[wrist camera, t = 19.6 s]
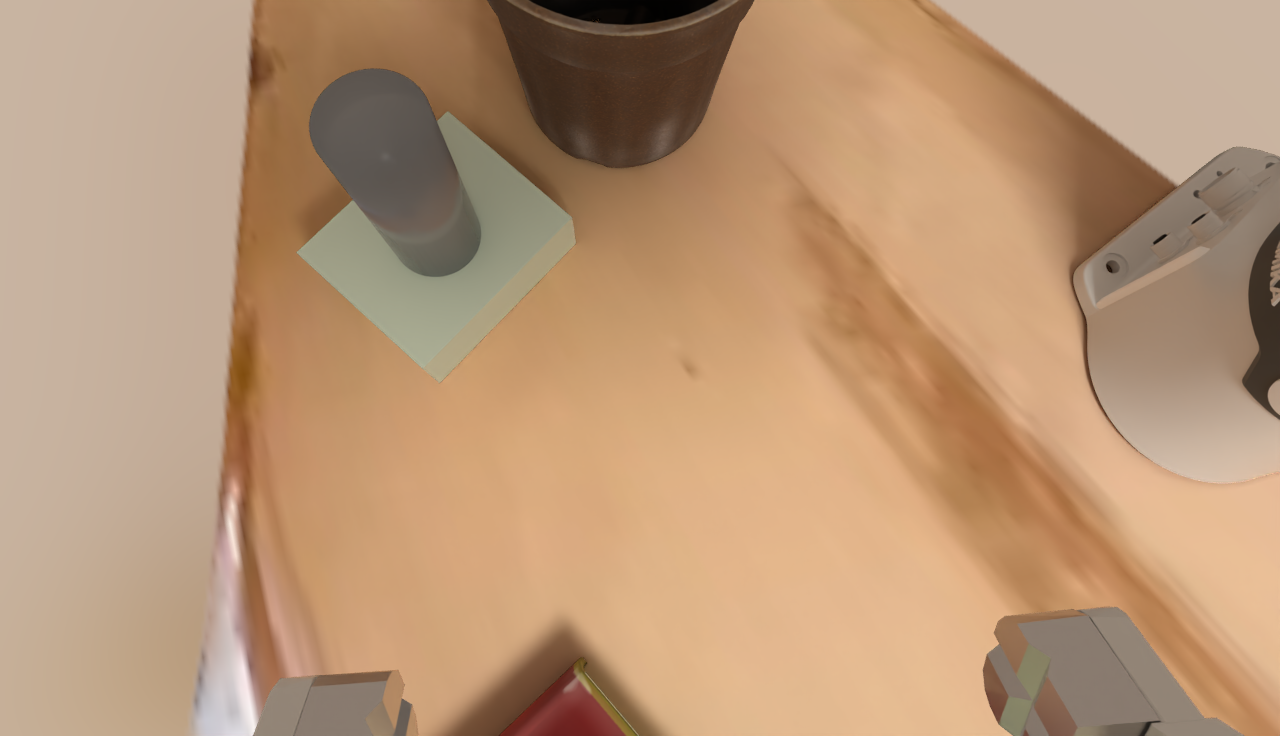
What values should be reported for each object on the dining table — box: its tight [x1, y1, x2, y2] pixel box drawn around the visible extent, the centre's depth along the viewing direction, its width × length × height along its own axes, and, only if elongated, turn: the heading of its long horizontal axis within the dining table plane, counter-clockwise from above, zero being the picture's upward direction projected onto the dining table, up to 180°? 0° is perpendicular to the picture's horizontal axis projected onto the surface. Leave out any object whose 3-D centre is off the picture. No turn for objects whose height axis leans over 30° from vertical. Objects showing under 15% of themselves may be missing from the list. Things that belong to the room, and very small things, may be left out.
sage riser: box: [296, 111, 576, 383], centre depth 45 cm, size 12×10×4 cm
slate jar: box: [309, 69, 481, 277], centre depth 37 cm, size 5×5×12 cm
